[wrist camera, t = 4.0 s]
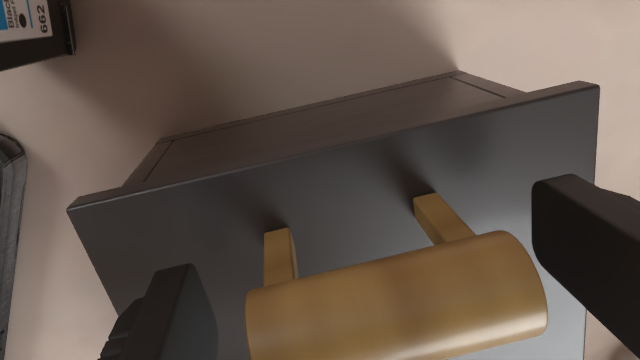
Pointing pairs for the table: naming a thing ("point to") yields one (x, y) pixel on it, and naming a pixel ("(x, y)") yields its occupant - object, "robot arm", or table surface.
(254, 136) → the pen box
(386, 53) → the table surface
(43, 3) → the ink cartridge
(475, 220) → the pen box lid
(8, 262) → the phone
